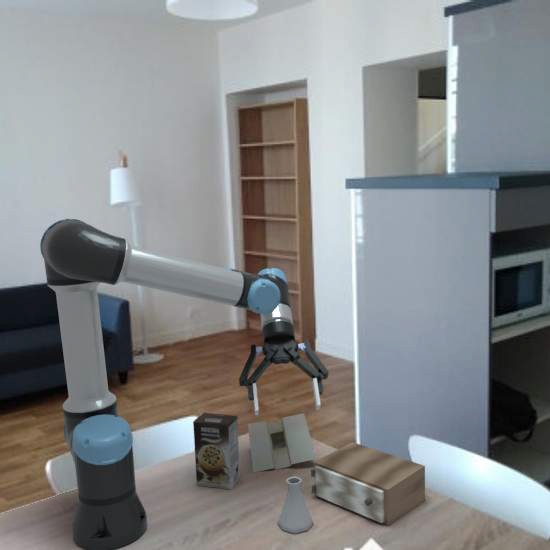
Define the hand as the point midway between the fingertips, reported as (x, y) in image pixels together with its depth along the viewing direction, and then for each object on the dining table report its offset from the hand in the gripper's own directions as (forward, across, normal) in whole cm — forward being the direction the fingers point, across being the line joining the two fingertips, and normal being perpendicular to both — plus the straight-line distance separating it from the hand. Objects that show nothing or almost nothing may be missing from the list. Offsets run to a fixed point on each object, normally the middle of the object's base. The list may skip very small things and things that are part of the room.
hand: (287, 410), depth 142 cm
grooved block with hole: (0, 0, -31) cm, 31 cm away
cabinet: (+16, -17, -14) cm, 28 cm away
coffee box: (+7, +16, -24) cm, 30 cm away
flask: (+22, +1, -8) cm, 24 cm away
